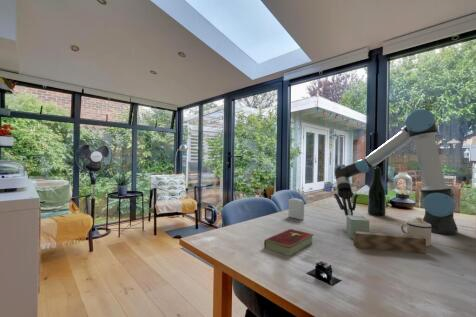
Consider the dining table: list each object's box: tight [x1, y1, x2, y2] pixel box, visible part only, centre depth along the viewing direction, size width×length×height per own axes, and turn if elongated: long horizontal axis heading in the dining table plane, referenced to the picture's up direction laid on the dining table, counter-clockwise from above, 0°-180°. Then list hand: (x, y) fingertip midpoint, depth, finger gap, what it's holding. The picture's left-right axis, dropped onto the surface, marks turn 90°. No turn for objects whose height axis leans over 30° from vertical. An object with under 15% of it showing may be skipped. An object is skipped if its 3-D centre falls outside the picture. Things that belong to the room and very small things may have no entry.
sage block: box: [345, 215, 370, 239], centre depth 112 cm, size 8×8×9 cm
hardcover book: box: [263, 228, 314, 256], centre depth 99 cm, size 12×21×4 cm, turn 138°
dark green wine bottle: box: [367, 166, 387, 217], centre depth 158 cm, size 10×10×33 cm
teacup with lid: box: [400, 216, 432, 247], centre depth 105 cm, size 12×9×12 cm
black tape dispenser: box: [305, 261, 343, 287], centre depth 73 cm, size 12×7×5 cm, turn 38°
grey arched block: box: [288, 197, 305, 221], centre depth 144 cm, size 10×4×12 cm, turn 39°
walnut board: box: [353, 231, 427, 255], centre depth 96 cm, size 26×3×6 cm, turn 78°
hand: (350, 220), depth 123 cm, fingers closed
